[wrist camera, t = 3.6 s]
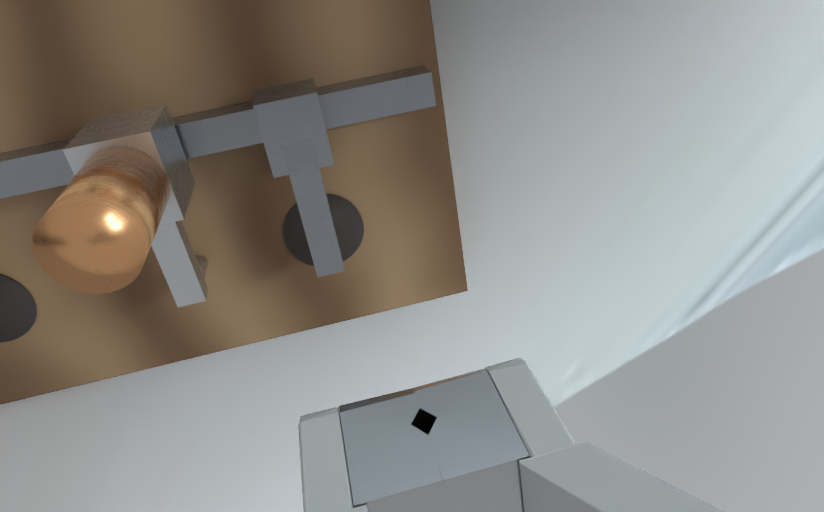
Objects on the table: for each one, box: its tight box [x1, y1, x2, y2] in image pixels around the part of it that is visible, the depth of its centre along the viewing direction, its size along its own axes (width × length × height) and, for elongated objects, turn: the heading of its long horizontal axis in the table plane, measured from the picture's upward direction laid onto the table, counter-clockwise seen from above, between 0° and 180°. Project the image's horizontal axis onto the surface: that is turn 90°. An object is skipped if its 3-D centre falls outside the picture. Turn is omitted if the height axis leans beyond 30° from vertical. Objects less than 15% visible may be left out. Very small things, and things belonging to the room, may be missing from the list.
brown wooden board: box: [0, 0, 468, 405], centre depth 23 cm, size 25×16×2 cm, turn 99°
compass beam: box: [0, 65, 436, 277], centre depth 21 cm, size 24×7×3 cm, turn 99°
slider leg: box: [32, 104, 208, 307], centre depth 19 cm, size 2×7×8 cm, turn 10°
